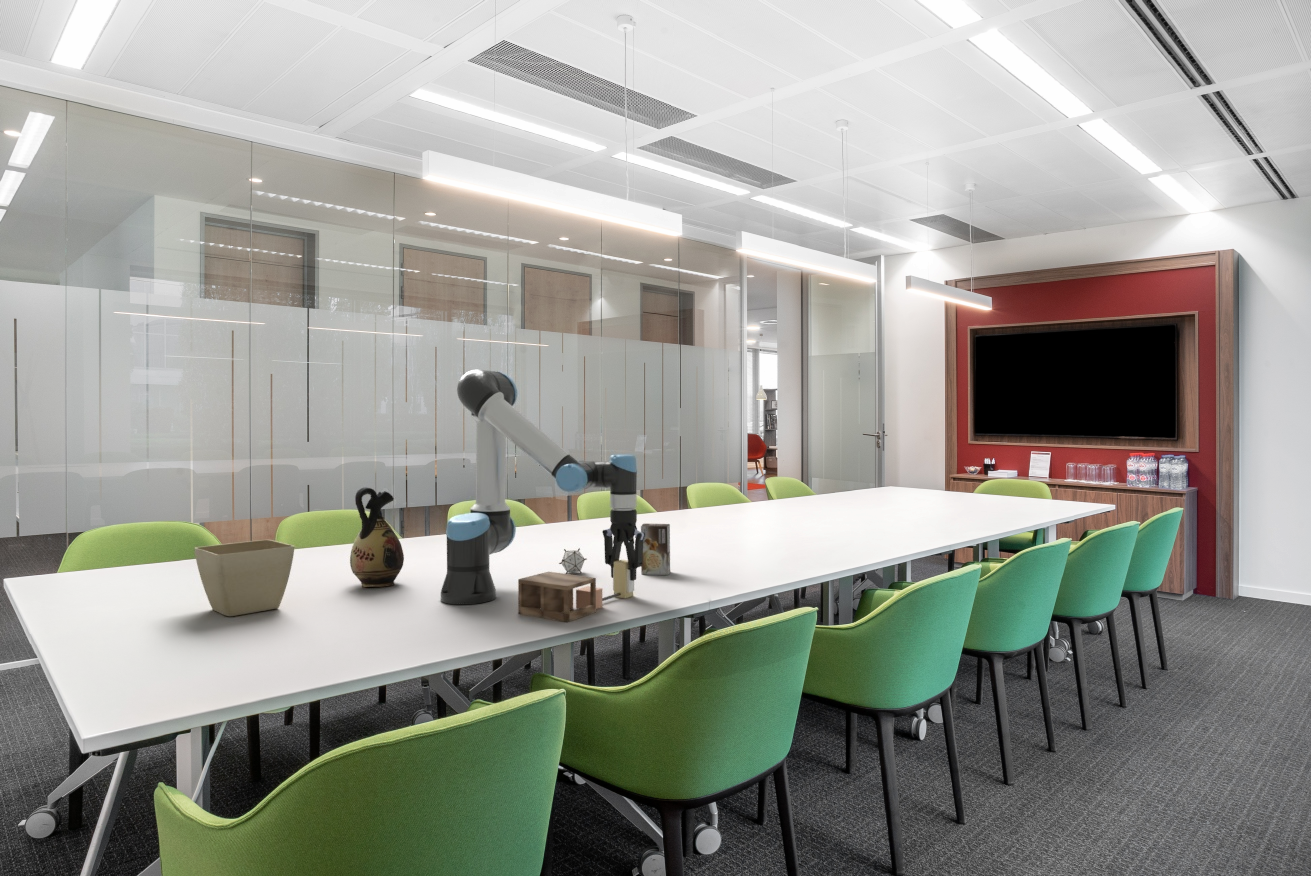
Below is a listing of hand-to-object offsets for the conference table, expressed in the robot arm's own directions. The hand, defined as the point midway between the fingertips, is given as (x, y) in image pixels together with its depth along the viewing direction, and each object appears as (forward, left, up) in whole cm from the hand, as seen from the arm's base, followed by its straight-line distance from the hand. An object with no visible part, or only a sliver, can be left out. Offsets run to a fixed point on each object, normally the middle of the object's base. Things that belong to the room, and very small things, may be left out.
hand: (623, 590), depth 219 cm
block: (-3, -8, -2) cm, 8 cm away
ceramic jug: (-78, +4, -2) cm, 78 cm away
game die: (-23, +31, -2) cm, 38 cm away
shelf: (-14, -21, -2) cm, 25 cm away
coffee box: (+4, +35, -2) cm, 35 cm away
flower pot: (-97, -29, -2) cm, 101 cm away
